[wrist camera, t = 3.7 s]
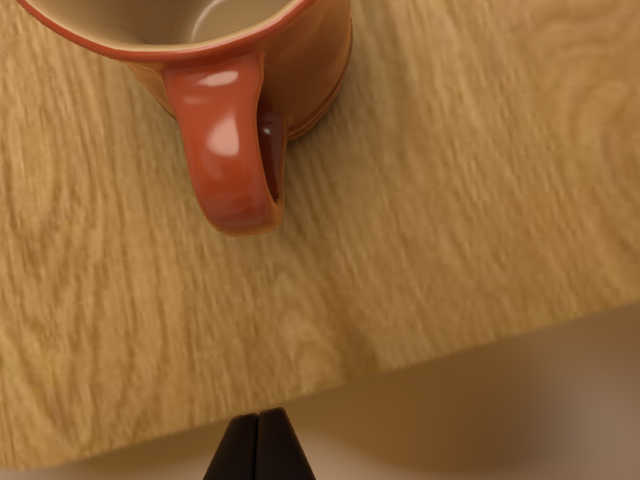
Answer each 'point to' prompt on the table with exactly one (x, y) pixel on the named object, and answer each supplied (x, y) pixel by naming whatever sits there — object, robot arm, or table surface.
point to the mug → (223, 84)
